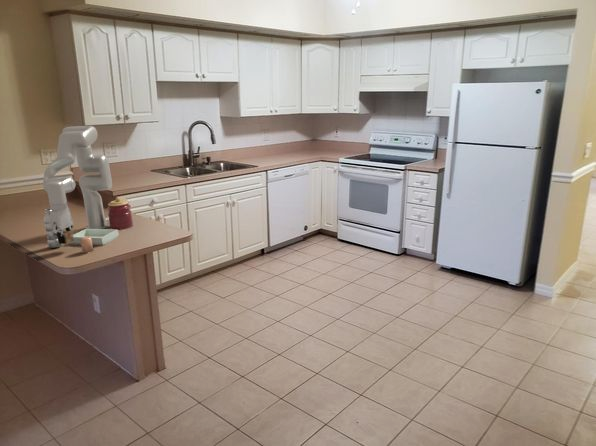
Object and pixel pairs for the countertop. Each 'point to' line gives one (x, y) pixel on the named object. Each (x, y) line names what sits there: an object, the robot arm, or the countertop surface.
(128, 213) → the canister
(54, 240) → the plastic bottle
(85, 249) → the tan rounded-top part
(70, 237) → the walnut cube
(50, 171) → the robot arm
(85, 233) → the box
